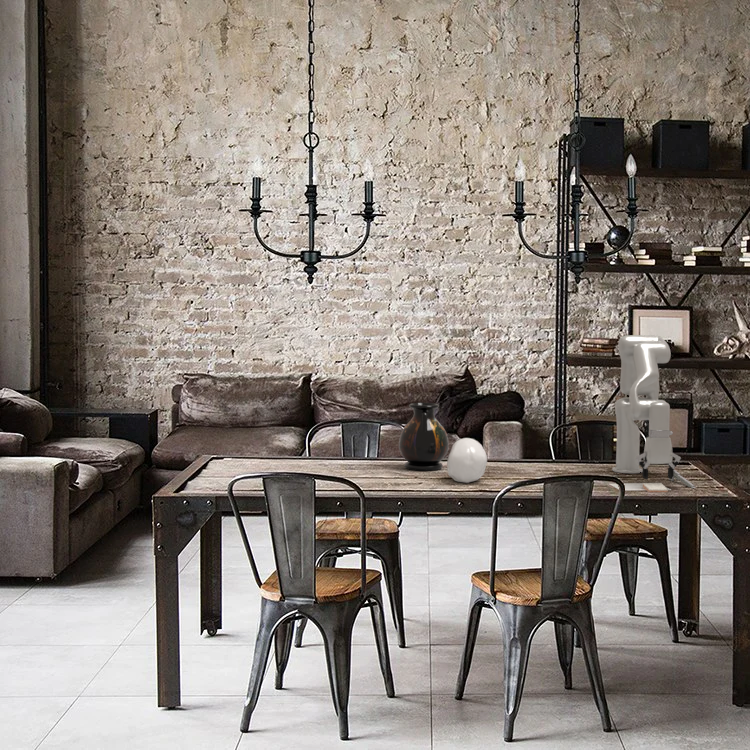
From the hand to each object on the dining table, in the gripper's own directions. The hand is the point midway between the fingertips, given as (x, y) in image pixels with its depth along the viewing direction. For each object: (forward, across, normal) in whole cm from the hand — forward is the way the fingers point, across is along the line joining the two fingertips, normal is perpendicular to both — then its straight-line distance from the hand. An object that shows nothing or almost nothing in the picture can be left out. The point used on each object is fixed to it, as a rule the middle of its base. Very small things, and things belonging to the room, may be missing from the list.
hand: (657, 478), depth 387 cm
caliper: (+5, -14, -11) cm, 18 cm away
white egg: (+5, +70, -26) cm, 75 cm away
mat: (+4, +6, -4) cm, 8 cm away
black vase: (+4, +83, -56) cm, 100 cm away
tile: (+3, +6, +4) cm, 8 cm away
